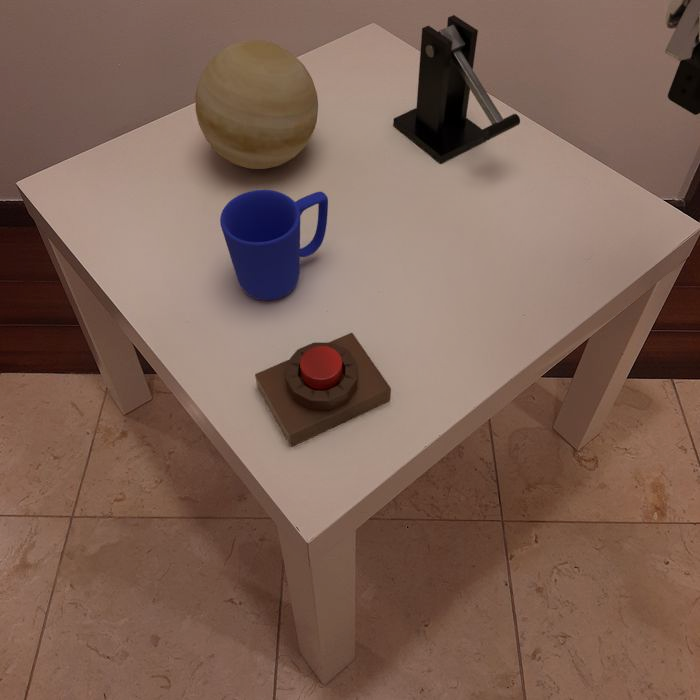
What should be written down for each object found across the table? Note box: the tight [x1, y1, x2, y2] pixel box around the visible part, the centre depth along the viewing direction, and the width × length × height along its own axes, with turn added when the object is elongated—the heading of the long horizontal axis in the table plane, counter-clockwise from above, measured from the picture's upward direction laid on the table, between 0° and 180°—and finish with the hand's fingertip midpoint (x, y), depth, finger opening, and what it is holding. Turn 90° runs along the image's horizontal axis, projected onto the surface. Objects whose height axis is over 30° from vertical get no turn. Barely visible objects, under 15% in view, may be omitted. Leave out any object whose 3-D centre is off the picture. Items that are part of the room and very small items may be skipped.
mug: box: [219, 189, 329, 301], centre depth 80 cm, size 8×12×10 cm
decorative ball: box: [194, 39, 319, 170], centre depth 91 cm, size 15×15×15 cm
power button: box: [300, 346, 342, 390], centre depth 71 cm, size 4×4×2 cm
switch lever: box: [438, 25, 521, 141], centre depth 89 cm, size 14×5×2 cm, turn 36°
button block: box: [254, 332, 392, 447], centre depth 73 cm, size 11×8×4 cm
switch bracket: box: [392, 14, 488, 165], centre depth 94 cm, size 10×8×15 cm
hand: (688, 103), depth 62 cm, fingers closed
